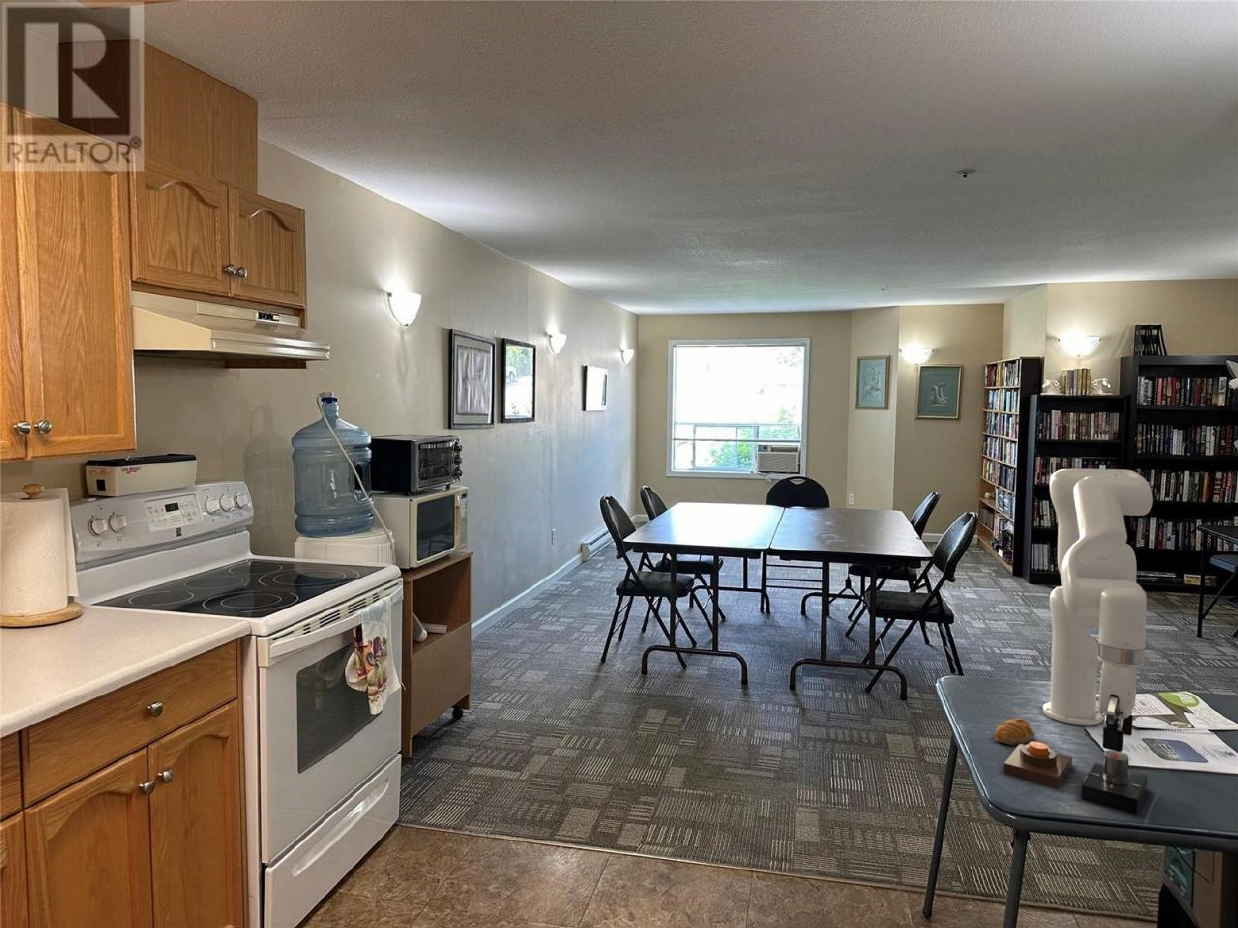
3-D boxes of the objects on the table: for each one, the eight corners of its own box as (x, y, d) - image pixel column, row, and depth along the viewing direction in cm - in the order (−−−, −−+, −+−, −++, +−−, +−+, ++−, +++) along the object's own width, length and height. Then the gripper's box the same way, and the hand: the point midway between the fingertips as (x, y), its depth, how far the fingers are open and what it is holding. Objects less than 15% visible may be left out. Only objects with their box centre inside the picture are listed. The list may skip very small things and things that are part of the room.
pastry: (1016, 750, 177) (1016, 733, 177) (986, 740, 182) (986, 723, 182) (1036, 738, 183) (1036, 722, 183) (1006, 729, 188) (1006, 713, 188)
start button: (1031, 747, 170) (1031, 739, 170) (1050, 752, 168) (1050, 744, 168) (1026, 753, 167) (1026, 745, 167) (1045, 758, 165) (1046, 750, 165)
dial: (1105, 773, 160) (1106, 746, 159) (1129, 779, 157) (1130, 752, 157) (1101, 780, 157) (1102, 753, 156) (1125, 786, 154) (1126, 759, 154)
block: (1019, 753, 176) (1020, 735, 175) (1071, 766, 169) (1072, 748, 169) (1003, 773, 167) (1004, 754, 166) (1057, 788, 160) (1058, 768, 160)
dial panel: (1094, 776, 165) (1095, 761, 164) (1146, 790, 159) (1147, 774, 159) (1081, 799, 156) (1082, 783, 155) (1136, 815, 150) (1137, 798, 150)
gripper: (1107, 639, 164) (1103, 722, 165) (1089, 660, 151) (1085, 750, 152) (1151, 647, 159) (1147, 732, 160) (1136, 669, 146) (1132, 762, 147)
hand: (1117, 741), depth 156 cm, fingers open, 9 cm apart
